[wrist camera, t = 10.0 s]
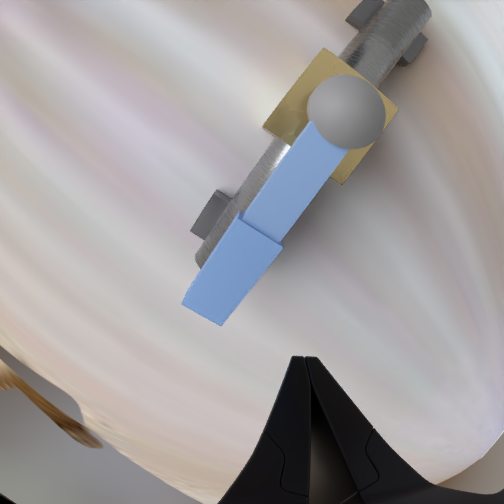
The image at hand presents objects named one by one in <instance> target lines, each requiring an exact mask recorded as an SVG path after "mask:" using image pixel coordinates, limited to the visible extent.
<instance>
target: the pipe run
mask: <svg viewBox="0 0 504 504" xmlns="http://www.w3.org/2000/svg"><path fill="white" fill-rule="evenodd" d="M431 15H432V14H431V10H430V8H429V6H428V5H427V3H426V2H425V1H424V0H387V1H386V2H384V1H382V0H363V1H362V2H361V3H360V4H359V5H358V6H357V7H356V8H355V9H354V10H353V11H352V13H351V14H350V15H349V16H348V17H347V19H346V20H345V21H347V22H348V23H350V24H351V25H352V26H354V27H355V28H356V29H358V30H359V32H358V34H357V35H356V36H355V37H354V38H353V40H352V41H351V42H350V43H349V44H348V46H347V47H346V48H345V49H344V50H343V52H342V53H341V54H340V55H339V56H338V57H337V56H335V55H334V54H333V53H331V52H330V51H328V50H327V49H326V48H323V49H322V50H321V51H320V53H319V54H318V55H317V56H316V57H315V59H314V60H313V61H312V62H311V64H310V65H309V66H308V67H307V68H306V70H305V71H304V72H303V73H302V75H301V76H300V77H299V79H298V80H297V81H296V82H295V84H294V85H293V86H292V87H291V89H290V90H289V91H288V93H287V94H286V95H285V97H284V98H283V99H282V101H281V102H280V103H279V104H278V106H277V107H276V108H275V110H274V111H273V113H272V114H271V115H270V117H269V118H268V119H267V121H266V122H265V123H264V125H263V126H262V128H263V129H264V130H266V131H267V132H269V133H270V134H272V135H273V136H275V137H276V138H275V139H274V141H273V142H272V143H271V145H270V146H269V148H268V149H267V150H266V152H265V153H264V155H263V156H262V157H261V159H260V160H259V162H258V163H257V164H256V166H255V167H254V169H253V170H252V171H251V173H250V174H249V176H248V177H247V179H246V180H245V181H244V183H243V184H242V186H241V187H240V189H239V190H238V192H237V193H236V194H235V196H234V197H233V199H231V198H229V197H227V196H226V195H224V194H223V193H221V192H220V191H218V190H216V191H215V192H214V194H213V195H212V197H211V198H210V200H209V201H208V203H207V204H206V206H205V208H204V209H203V211H202V212H201V214H200V216H199V217H198V219H197V220H196V222H195V224H194V225H193V227H192V228H191V230H190V231H191V232H192V233H194V234H195V235H197V236H199V237H200V238H202V239H203V240H205V241H204V242H203V244H202V245H201V247H200V248H199V250H198V252H197V253H196V255H195V260H196V263H197V264H198V266H199V267H200V269H201V268H202V267H203V265H204V264H205V262H206V261H207V259H208V258H209V256H210V255H211V253H212V252H213V250H214V248H215V247H216V245H217V244H218V242H219V241H220V239H221V238H222V236H223V235H224V233H225V232H226V230H227V229H228V227H229V226H230V224H231V223H232V221H233V220H234V218H235V217H236V215H237V214H238V213H239V211H242V212H244V213H245V211H246V210H247V208H248V207H249V205H250V204H251V203H252V201H253V200H254V198H255V197H256V195H257V194H258V192H259V191H260V190H261V188H262V187H263V185H264V184H265V182H266V181H267V180H268V178H269V177H270V175H271V174H272V172H273V171H274V170H275V168H276V167H277V165H278V164H279V163H280V161H281V160H282V158H283V157H284V156H285V154H286V153H287V151H288V150H289V149H290V147H291V146H292V144H293V143H294V142H295V140H296V139H297V138H298V136H299V135H300V133H301V132H302V131H303V129H304V128H305V127H306V125H307V124H308V122H309V121H308V118H307V102H308V99H309V97H310V95H311V93H312V92H313V90H314V89H315V88H316V87H317V86H319V85H320V84H321V83H322V82H323V81H325V80H326V79H328V78H330V77H332V76H336V75H341V74H348V75H354V76H357V77H360V78H362V79H364V80H365V81H367V82H368V83H370V84H371V85H372V86H373V87H374V88H375V89H376V90H377V92H378V93H379V95H380V96H381V98H382V100H383V103H384V106H385V112H386V120H385V125H384V128H383V130H384V129H385V127H386V126H387V125H388V123H389V122H390V121H391V119H392V118H393V116H394V115H395V114H396V112H397V111H398V110H399V108H398V107H397V106H396V105H394V104H393V103H392V102H391V101H390V100H389V99H388V98H387V97H386V96H385V95H384V94H383V93H381V92H380V91H379V90H378V89H377V88H378V87H379V86H380V85H381V83H382V82H383V81H384V79H385V78H386V77H387V75H388V74H389V73H390V71H391V70H392V69H393V67H394V66H395V65H396V63H397V62H398V63H399V64H400V65H401V66H402V67H403V66H406V65H408V64H411V62H412V61H413V59H414V58H415V57H416V55H417V54H418V53H419V51H420V50H421V48H422V47H423V46H424V44H425V43H426V42H427V40H428V39H427V38H426V37H425V36H424V35H423V34H422V33H421V32H420V31H421V30H422V29H423V27H424V26H425V25H426V23H427V22H428V21H429V19H430V18H431ZM376 140H377V139H376ZM376 140H375V141H376ZM375 141H374V142H375ZM374 142H373V143H372V144H370V145H368V146H366V147H363V148H360V149H349V151H348V152H347V153H346V155H345V156H344V157H343V159H342V160H341V161H340V163H339V164H338V166H337V167H336V168H335V170H334V171H333V172H332V174H331V175H330V177H331V178H333V179H334V180H336V181H337V182H338V183H340V184H341V185H342V184H343V183H344V182H345V181H346V179H347V178H348V177H349V175H350V174H351V173H352V171H353V170H354V169H355V167H356V166H357V165H358V164H359V162H360V161H361V160H362V158H363V157H364V156H365V154H366V153H367V152H368V150H369V149H370V148H371V146H372V145H373V144H374Z"/></svg>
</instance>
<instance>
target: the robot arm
mask: <svg viewBox="0 0 504 504" xmlns="http://www.w3.org/2000/svg"><path fill="white" fill-rule="evenodd" d="M0 504H16V503H14V502H13V501H12V500H10V499H9V498H7V497H6V496H4V495H3V494H1V493H0ZM218 504H504V489H502V490H501V491H500V492H498V493H495V494H476V493H471V492H465V491H460V490H454V489H450V488H445V487H441V486H437V485H435V484H432V483H430V482H429V481H427V480H426V479H424V478H423V477H422V476H421V475H420V474H419V473H417V472H416V471H415V470H414V469H413V468H412V467H411V466H410V465H409V464H408V463H407V462H405V461H404V460H403V459H402V458H401V457H400V456H399V455H398V454H397V453H396V452H395V451H394V450H393V449H392V448H391V447H390V446H389V445H388V444H387V442H386V441H385V440H384V439H383V438H382V437H381V436H380V434H379V433H378V432H377V431H376V429H375V428H373V426H372V425H371V423H370V422H369V421H368V420H367V419H366V417H365V416H364V415H363V414H362V412H361V411H360V410H359V409H358V407H357V406H356V405H355V404H354V402H353V401H352V400H351V399H350V398H349V396H348V395H347V394H346V393H345V391H344V390H343V389H342V388H341V386H340V385H339V384H338V383H337V381H336V380H335V379H334V378H333V376H332V375H331V374H330V373H329V371H328V370H327V369H326V367H325V366H324V365H323V364H322V362H321V361H320V360H319V359H318V358H317V357H311V356H306V357H305V358H304V357H303V356H292V357H291V360H290V363H289V366H288V368H287V371H286V374H285V377H284V379H283V382H282V385H281V387H280V390H279V392H278V395H277V398H276V400H275V403H274V405H273V408H272V410H271V413H270V415H269V418H268V420H267V423H266V425H265V427H264V430H263V433H262V434H261V437H260V439H259V441H258V443H257V445H256V447H255V449H254V452H253V454H252V455H251V457H250V459H249V460H248V462H247V463H246V465H245V467H244V468H243V470H242V471H241V473H240V474H239V475H238V477H237V478H236V480H235V481H234V482H233V484H232V485H231V487H230V488H229V489H228V491H227V492H226V493H225V495H224V496H223V497H222V499H221V500H220V501H219V502H218Z"/></svg>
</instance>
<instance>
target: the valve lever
mask: <svg viewBox="0 0 504 504" xmlns="http://www.w3.org/2000/svg"><path fill="white" fill-rule="evenodd" d="M307 118H308V121H309V122H308V124H307V125H306V127H305V128H304V129H303V131H302V132H301V133H300V135H299V136H298V138H297V139H296V140H295V142H294V143H293V144H292V146H291V147H290V149H289V150H288V151H287V153H286V154H285V156H284V157H283V158H282V160H281V161H280V163H279V164H278V165H277V167H276V168H275V170H274V171H273V172H272V174H271V175H270V177H269V178H268V180H267V181H266V182H265V184H264V185H263V187H262V188H261V190H260V191H259V192H258V194H257V195H256V197H255V198H254V200H253V201H252V203H251V204H250V205H249V207H248V208H247V210H246V211H245V213H244V212H242V211H239V213H238V214H237V215H236V217H235V218H234V220H233V221H232V223H231V224H230V226H229V227H228V229H227V230H226V232H225V233H224V235H223V236H222V238H221V239H220V241H219V242H218V244H217V245H216V247H215V248H214V250H213V252H212V253H211V255H210V256H209V258H208V259H207V261H206V262H205V264H204V265H203V267H202V268H201V270H200V272H199V273H198V275H197V276H196V278H195V279H194V281H193V282H192V284H191V286H190V287H189V289H188V290H187V292H186V294H185V297H184V299H183V301H182V305H183V306H185V307H187V308H189V309H190V310H192V311H194V312H196V313H198V314H199V315H201V316H203V317H205V318H207V319H208V320H210V321H212V322H214V323H216V324H218V325H219V326H222V325H223V324H224V322H225V321H226V320H227V319H228V317H229V316H230V315H231V314H232V312H233V311H234V310H235V309H236V307H237V306H238V305H239V304H240V302H241V301H242V300H243V299H244V297H245V296H246V295H247V294H248V292H249V291H250V290H251V288H252V287H253V286H254V285H255V283H256V282H257V281H258V280H259V278H260V277H261V276H262V274H263V273H264V272H265V271H266V269H267V268H268V267H269V266H270V264H271V263H272V262H273V260H274V259H275V258H276V257H277V255H278V254H279V253H280V251H281V250H282V249H283V243H282V239H283V238H284V236H285V235H286V234H287V232H288V231H289V230H290V228H291V227H292V226H293V224H294V223H295V222H296V220H297V219H298V218H299V216H300V215H301V214H302V212H303V211H304V210H305V208H306V207H307V206H308V204H309V203H310V202H311V200H312V199H313V198H314V196H315V195H316V194H317V192H318V191H319V190H320V188H321V187H322V186H323V184H324V183H325V182H326V180H327V179H328V178H329V176H330V175H331V174H332V172H333V171H334V170H335V168H336V167H337V166H338V164H339V163H340V161H341V160H342V159H343V157H344V156H345V155H346V153H347V152H348V151H349V149H360V148H363V147H366V146H368V145H370V144H372V143H373V142H374V141H375V140H376V139H377V138H378V137H379V136H380V134H381V133H382V131H383V128H384V125H385V120H386V112H385V106H384V103H383V100H382V98H381V96H380V95H379V93H378V92H377V90H376V89H375V88H374V87H373V86H372V85H371V84H370V83H368V82H367V81H365V80H364V79H362V78H360V77H357V76H354V75H348V74H341V75H336V76H332V77H330V78H328V79H326V80H325V81H323V82H322V83H321V84H320V85H319V86H317V87H316V88H315V89H314V90H313V92H312V93H311V95H310V97H309V99H308V102H307Z"/></svg>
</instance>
